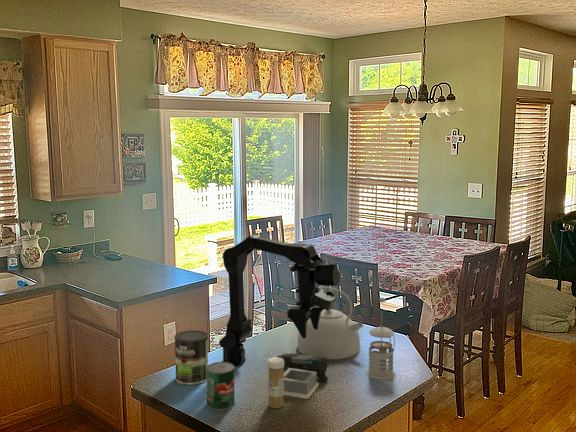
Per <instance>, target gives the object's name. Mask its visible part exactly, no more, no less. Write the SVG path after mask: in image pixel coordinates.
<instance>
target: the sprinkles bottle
mask: <svg viewBox="0 0 576 432" xmlns="http://www.w3.org/2000/svg"><path fill="white" fill-rule="evenodd" d="M267 367H268V391H267V392H268V403H267V406H268V407H270V408H272V409H280V408H282V407H284V406H285V402H284V401H285V398H284V396H285V395H284V372H285V371H284V369H285V366H284V359H283V358H280V357H277V356H274V357H270V358H269V359H268V360H267Z"/></svg>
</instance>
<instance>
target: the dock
mask: <svg viewBox="0 0 576 432" xmlns="http://www.w3.org/2000/svg"><path fill="white" fill-rule="evenodd" d="M317 379H318V377H317V372H314V371H307V370H300V369H293V368H288V367H287V370H285V371H284V396H288V397H293V398H294V397H295V398H300V399H307V400H308V399H309V398H310V397H312V394H314V392H315V391H316V390H317V389H318V388H319V384H320V383H319V381H318V380H317Z"/></svg>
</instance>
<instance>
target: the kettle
mask: <svg viewBox="0 0 576 432" xmlns="http://www.w3.org/2000/svg"><path fill="white" fill-rule="evenodd" d="M317 287H318V288H319V290H328V291H330V290H331V291H333V292H338V293H340V294H341V295H343V297H345V298H346V299H347V300H348V302H349V313H348V315H346V314H345V313H343V312H342V311H340V310H337V309H332V308H330V309H329V310H323V311H322V312H321V315H320V320H319V325H318V329H317V330H316V329H314V328H313V325H312V322H311V319H309V320H308V321H307V331H306V338H302V336H301V335H300V333H299V332H298V335H297V351H298V352H299V353H300V354H301V355H304V356H312V357H315V356H317V357H325V358H327V360H339V359H345V358H349V357H353V356H355V355H357V354H359V352H361V344H360V343H361V339H360V334H359V331H358V330H360V329H362V327H364V324H363V323H362V322H361V321H357V322H354V321H353V320H352V319H351V317H352V314H353V302H352V300H351V299H350V297H349V295H348V294H346V293H345V292H344V291H342V290H340V289H337V288H335V287H330V286H317Z"/></svg>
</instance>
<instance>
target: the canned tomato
mask: <svg viewBox="0 0 576 432" xmlns="http://www.w3.org/2000/svg"><path fill="white" fill-rule="evenodd" d="M206 375H207V376H206V378H207V379H206V407H207V406H208V407H209V408H208V407H207V408H208V409H209V410H212V409H213V410H212V411H225V410H229V409H231V408H233V407H234V406H235V403H236V402H235V366H234V365H233V364H231V363H228V362H222V361H218V362H217V361H215V362H212V363H208V366H207V367H206Z"/></svg>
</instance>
